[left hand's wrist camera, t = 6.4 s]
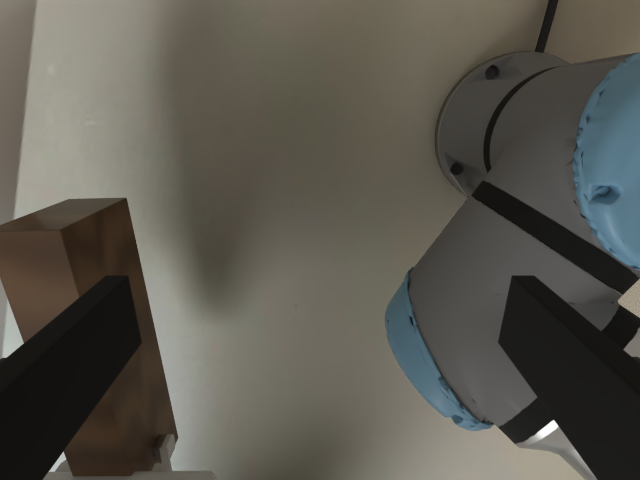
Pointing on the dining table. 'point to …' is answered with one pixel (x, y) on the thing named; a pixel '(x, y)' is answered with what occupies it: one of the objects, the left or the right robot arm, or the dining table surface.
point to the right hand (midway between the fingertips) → (136, 438)
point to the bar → (65, 288)
